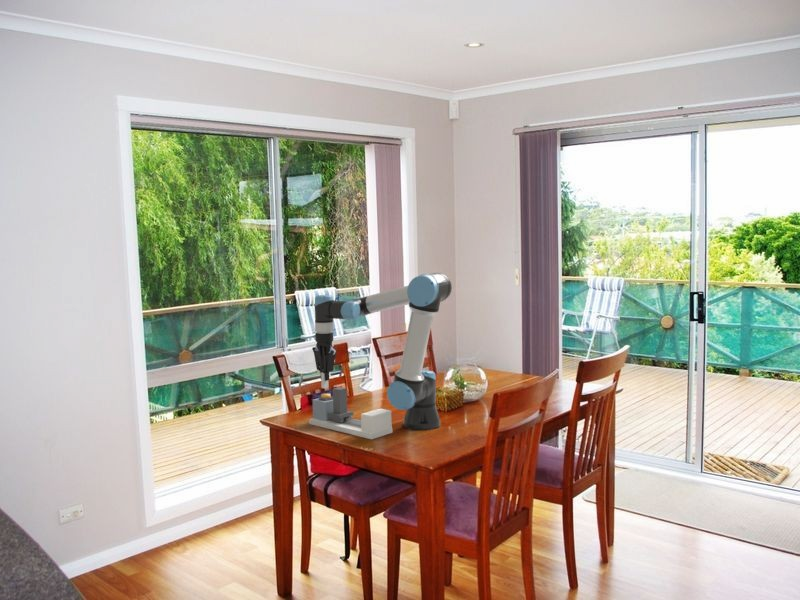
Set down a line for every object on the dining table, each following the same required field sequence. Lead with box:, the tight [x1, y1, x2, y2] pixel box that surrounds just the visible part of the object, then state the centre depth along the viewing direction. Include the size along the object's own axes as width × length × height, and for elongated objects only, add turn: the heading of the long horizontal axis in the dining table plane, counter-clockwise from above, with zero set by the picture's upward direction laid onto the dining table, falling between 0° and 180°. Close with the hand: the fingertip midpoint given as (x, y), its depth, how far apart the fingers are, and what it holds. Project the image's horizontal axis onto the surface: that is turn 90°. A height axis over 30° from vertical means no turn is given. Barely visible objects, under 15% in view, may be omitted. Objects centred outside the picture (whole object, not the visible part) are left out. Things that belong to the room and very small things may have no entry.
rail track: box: [308, 408, 394, 440], centre depth 296 cm, size 36×12×9 cm, turn 49°
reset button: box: [318, 393, 333, 401], centre depth 304 cm, size 4×4×5 cm
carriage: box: [327, 386, 354, 423], centre depth 299 cm, size 7×8×13 cm
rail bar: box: [343, 417, 361, 427], centre depth 295 cm, size 22×2×2 cm, turn 49°
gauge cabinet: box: [312, 397, 333, 421], centre depth 305 cm, size 8×8×8 cm
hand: (325, 387), depth 304 cm, fingers closed
